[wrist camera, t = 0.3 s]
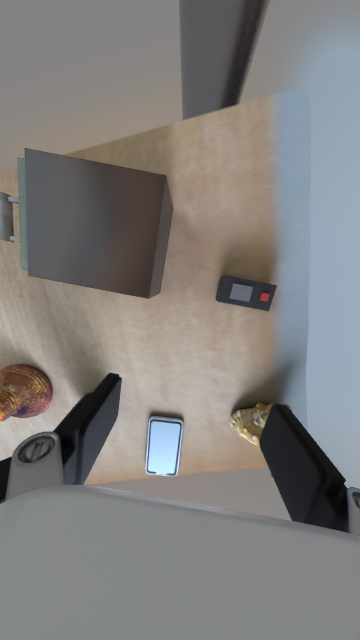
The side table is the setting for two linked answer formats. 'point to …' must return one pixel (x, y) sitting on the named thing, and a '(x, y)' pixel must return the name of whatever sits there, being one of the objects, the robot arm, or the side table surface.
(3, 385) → the bell
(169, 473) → the smartphone
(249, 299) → the remote
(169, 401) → the side table surface
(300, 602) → the robot arm
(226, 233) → the side table surface
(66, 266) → the cabinet
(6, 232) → the drawer
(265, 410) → the seashell
